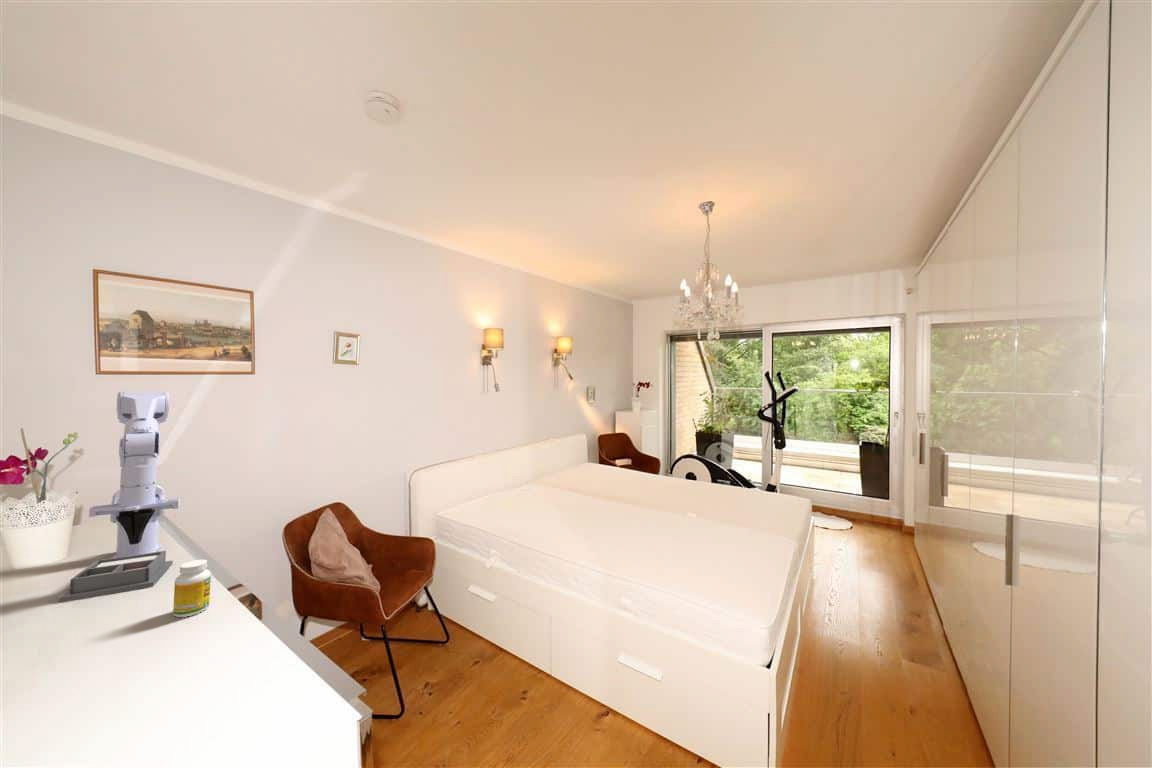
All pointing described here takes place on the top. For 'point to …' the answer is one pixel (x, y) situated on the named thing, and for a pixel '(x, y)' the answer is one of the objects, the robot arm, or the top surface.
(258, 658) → the top surface
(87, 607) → the top surface
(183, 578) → the supplement bottle
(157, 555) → the space bar
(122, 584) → the grey compartment tray
